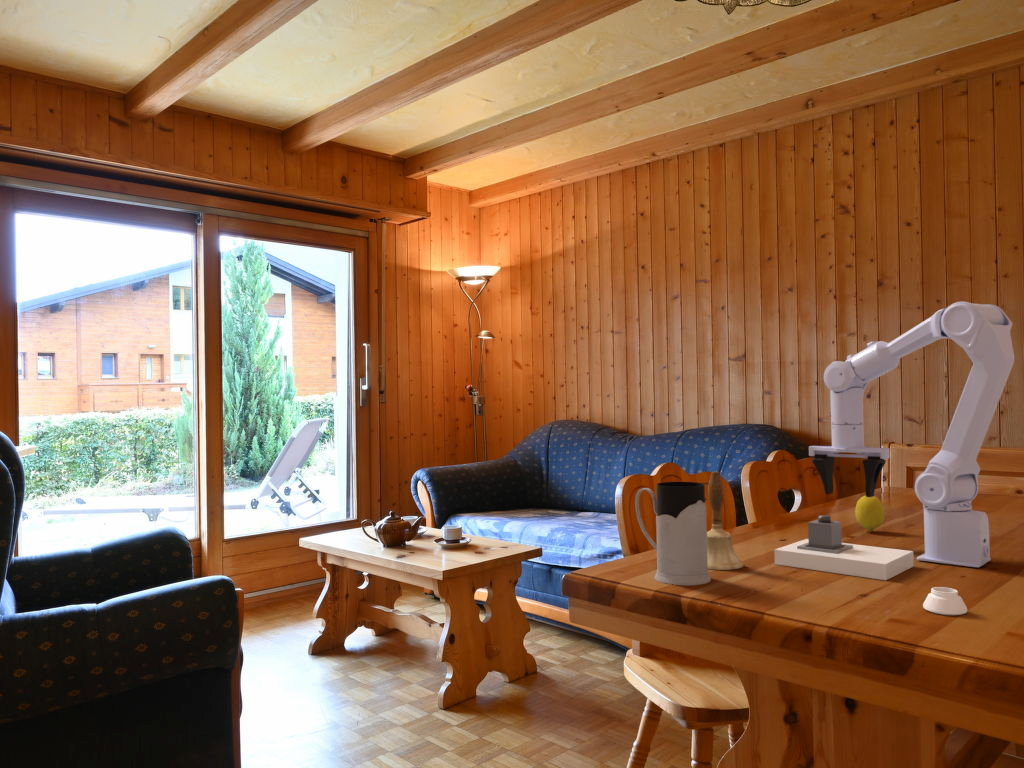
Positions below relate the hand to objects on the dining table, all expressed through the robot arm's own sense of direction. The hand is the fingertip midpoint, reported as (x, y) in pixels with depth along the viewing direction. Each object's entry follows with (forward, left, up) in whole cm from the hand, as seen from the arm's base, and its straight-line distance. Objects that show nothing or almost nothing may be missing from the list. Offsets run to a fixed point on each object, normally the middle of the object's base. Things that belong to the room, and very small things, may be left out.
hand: (849, 495), depth 147 cm
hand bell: (+10, +32, -10) cm, 35 cm away
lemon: (+2, -16, -10) cm, 19 cm away
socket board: (-6, +19, -9) cm, 22 cm away
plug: (-3, +19, -10) cm, 21 cm away
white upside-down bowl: (-26, +38, -10) cm, 47 cm away
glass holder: (+12, +44, -10) cm, 47 cm away
